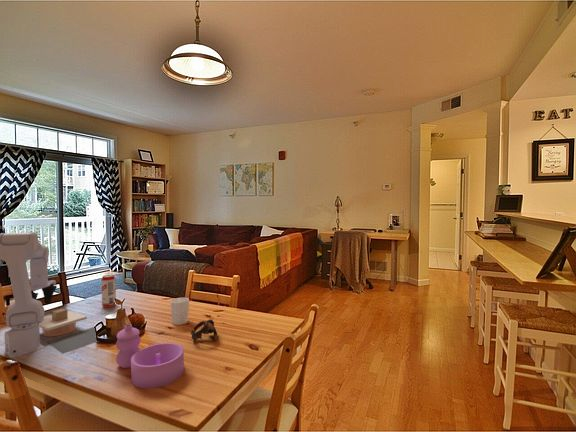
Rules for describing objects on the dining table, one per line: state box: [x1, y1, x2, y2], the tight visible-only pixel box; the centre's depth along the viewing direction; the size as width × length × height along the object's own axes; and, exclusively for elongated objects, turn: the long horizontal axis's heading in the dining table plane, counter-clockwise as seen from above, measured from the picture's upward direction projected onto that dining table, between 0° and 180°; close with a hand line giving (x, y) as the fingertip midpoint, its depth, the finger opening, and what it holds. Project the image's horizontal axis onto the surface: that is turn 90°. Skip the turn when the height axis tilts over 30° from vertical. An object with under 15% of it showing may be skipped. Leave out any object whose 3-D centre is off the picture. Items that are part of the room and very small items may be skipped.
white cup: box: [169, 297, 190, 326], centre depth 137 cm, size 8×8×10 cm
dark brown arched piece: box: [190, 318, 219, 342], centre depth 121 cm, size 12×10×8 cm
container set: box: [115, 324, 185, 389], centre depth 98 cm, size 25×15×13 cm, turn 65°
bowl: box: [41, 322, 77, 337], centre depth 127 cm, size 11×11×4 cm
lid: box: [39, 307, 88, 331], centre depth 127 cm, size 14×14×4 cm
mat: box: [46, 326, 99, 354], centre depth 120 cm, size 18×16×1 cm
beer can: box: [100, 274, 117, 309], centre depth 158 cm, size 6×6×16 cm
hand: (40, 306), depth 128 cm, fingers open, 7 cm apart
